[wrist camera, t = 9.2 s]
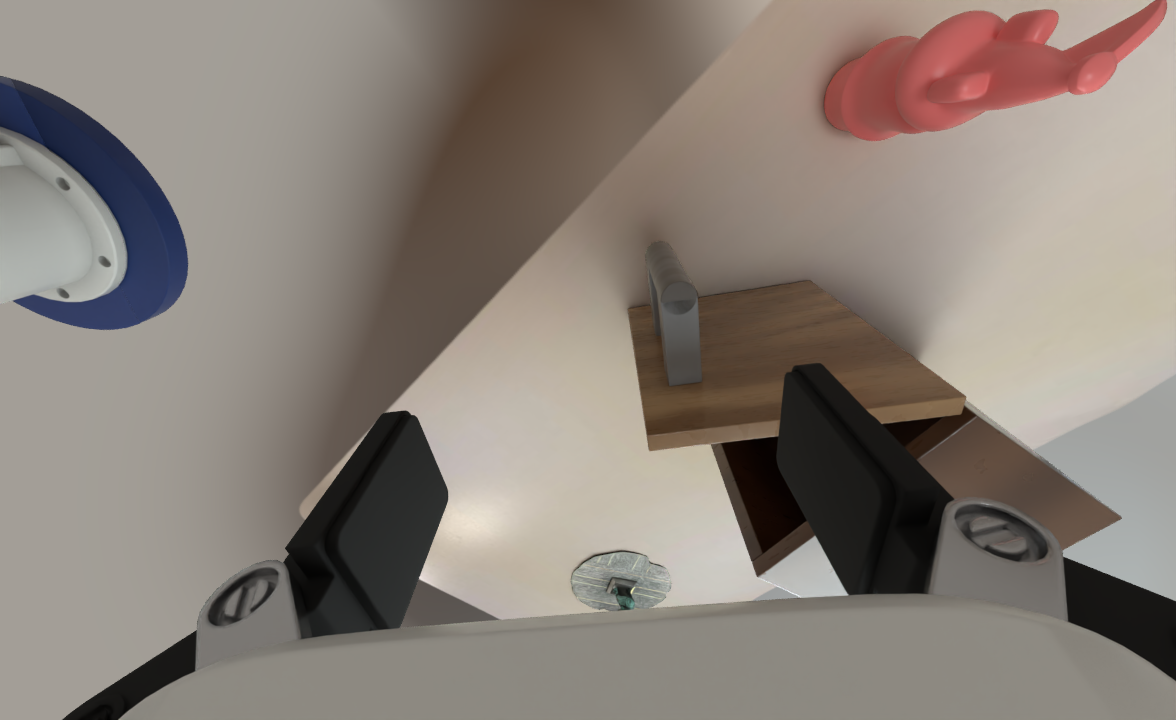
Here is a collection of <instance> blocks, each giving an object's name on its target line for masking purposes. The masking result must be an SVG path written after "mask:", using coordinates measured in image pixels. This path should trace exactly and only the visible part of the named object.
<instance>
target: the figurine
mask: <svg viewBox="0 0 1176 720" xmlns="http://www.w3.org/2000/svg"><path fill="white" fill-rule="evenodd" d="M1166 10H1167V2H1166V0H1155V1H1154V2H1152V3H1150V4H1149V5H1148V6H1147V7H1145V8H1144V9H1142V10H1141V11H1139V12H1138V13H1136V14H1134V15H1132V16H1131V17H1129V18H1127V19H1125V20H1123V21H1121V22H1119V23H1118V24H1116V25H1114V26H1112V27H1110V28H1108V29H1106V30H1104V31H1102V32H1100V33H1098V34H1097V35H1095V36H1093V37H1091V38H1089V39H1087V40H1085V41H1083V42H1081V43H1079V44H1077V45H1075V46H1073V47H1071V48H1069V49H1067V50H1064V51H1061V50H1059V49H1056V48H1054V47H1051V46H1048V45H1044V44H1045V43H1046V41H1047V40H1048V39H1049V37H1050V36H1051V34H1052V33H1053V31H1054V30H1055V28H1056V25H1057V23H1058V18H1059V16H1058V13H1057V12H1056V11H1054V10H1035V11H1028V12H1022V13H1019V14H1016V15H1014V16H1013V17H1011V18H1010V19H1009V20H1008V21H1007V22H1005V21H1004V20H1003V19H1001V18H1000V17H999V16H997V15H995V14H993V13H990V12H987V11H968V12H964V13H961V14H958V15H955V16H953V17H951V18H948V19H946V20H945V21H943V22H941V23H940V24H938V25H936V26H935V27H934V28H932V29H931V30H930V31H928V32H927V33H926V34H925V35H924V36H923V37H922V38H921V39H918V38H915V37H911V36H899V37H894V38H891V39H888V40H885V41H883V42H881V43H879V44H878V45H876V46H875V47H873V48H872V49H870V50H869V51H868V52H867V53H866V54H865V55H864V56H863V57H861V58H858V59H855V60H853V61H851V62H849V63H847V64H846V65H844V66H843V67H842V68H841V69H840V70H839V71H838V72H837V73H836V74H835V75H834V77H833V78H832V80H831V82H830V84H829V86H828V88H827V91H826V94H825V100H824V109H825V114H826V117H827V119H828V121H829V122H830V123H831V124H832V125H833V126H834V127H835V128H837V129H840V130H843V131H850V132H851V133H852V134H853V135H854V136H856V137H858V138H860V139H863V140H867V141H881V140H885V139H888V138H891V137H893V136H896V135H898V134H899V133H907V134H916V133H922V132H926V131H929V132H933V131H942V130H946V129H950V128H953V127H955V126H958V125H960V124H963V123H965V122H967V121H969V120H971V119H973V118H975V117H976V116H978V115H980V114H982V113H983V112H985V111H988V110H999V109H1006V108H1011V107H1015V106H1019V105H1024V104H1028V103H1032V102H1036V101H1040V100H1044V99H1048V98H1051V97H1054V96H1057V95H1060V94H1063V93H1065V92H1070V93H1072V94H1074V95H1081V94H1088V93H1092V92H1094V91H1096V90H1098V89H1100V88H1101V87H1102V86H1103V85H1105V84H1106V83H1107V81H1108V80H1109V79H1110V78H1111V77H1112V75H1113V74H1114V72H1115V70H1116V67H1117V64H1118V63H1119V62H1120V61H1121V60H1122V59H1124V58H1125V57H1126V56H1127V55H1128V54H1130V53H1131V52H1132V51H1133V50H1134V49H1135V48H1137V47H1138V46H1139V45H1140V44H1141V43H1142V42H1143V41H1144V40H1145V39H1146V38H1148V37H1149V36H1150V35H1151V34H1152V33H1153V32H1154V30H1155V29H1156V28H1157V27H1158V26H1159V25H1160V23H1161V22H1162V20H1163V19H1164V16H1165V14H1166Z"/></svg>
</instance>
